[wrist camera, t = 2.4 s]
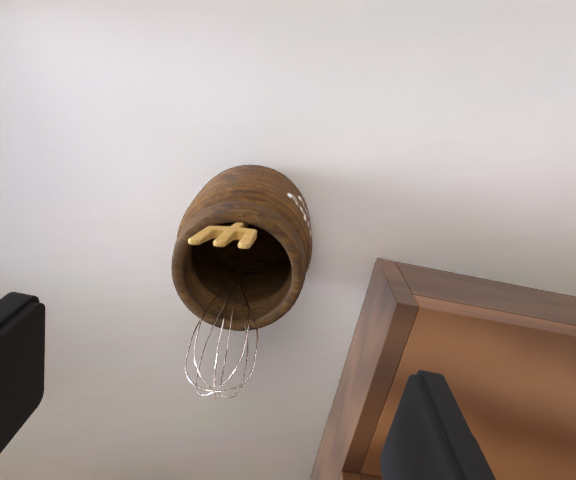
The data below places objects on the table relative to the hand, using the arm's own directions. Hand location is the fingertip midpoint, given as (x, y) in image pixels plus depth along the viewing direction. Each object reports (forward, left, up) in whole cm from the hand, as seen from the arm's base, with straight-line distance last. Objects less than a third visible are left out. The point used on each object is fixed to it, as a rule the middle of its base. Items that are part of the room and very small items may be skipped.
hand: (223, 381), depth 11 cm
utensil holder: (0, 0, -13) cm, 13 cm away
